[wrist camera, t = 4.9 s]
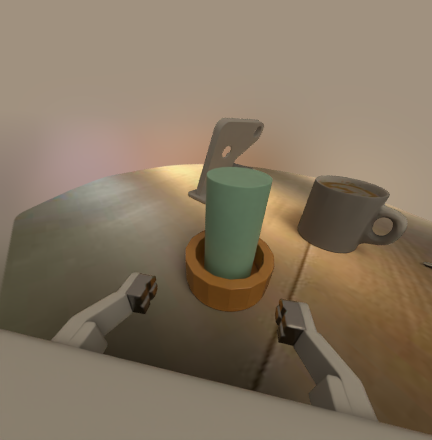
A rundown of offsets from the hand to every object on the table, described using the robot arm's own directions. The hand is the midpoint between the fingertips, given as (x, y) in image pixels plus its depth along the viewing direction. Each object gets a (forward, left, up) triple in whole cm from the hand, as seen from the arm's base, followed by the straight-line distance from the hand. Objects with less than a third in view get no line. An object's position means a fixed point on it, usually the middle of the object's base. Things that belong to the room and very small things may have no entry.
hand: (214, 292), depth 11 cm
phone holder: (+31, +21, -9) cm, 39 cm away
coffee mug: (+27, -7, -9) cm, 30 cm away
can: (+9, +4, -8) cm, 12 cm away
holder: (+8, +4, -8) cm, 13 cm away
